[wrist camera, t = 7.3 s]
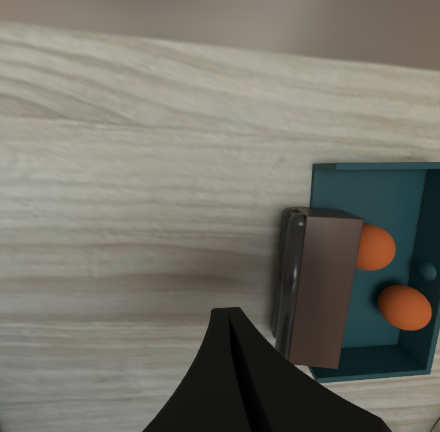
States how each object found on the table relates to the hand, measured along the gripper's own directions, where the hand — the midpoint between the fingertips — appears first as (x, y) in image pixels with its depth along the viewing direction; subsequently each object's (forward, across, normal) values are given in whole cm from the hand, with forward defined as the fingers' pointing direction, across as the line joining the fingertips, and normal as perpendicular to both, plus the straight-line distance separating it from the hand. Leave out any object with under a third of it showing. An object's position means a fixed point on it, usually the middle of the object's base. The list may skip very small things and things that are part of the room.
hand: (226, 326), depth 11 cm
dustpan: (+6, -14, 0) cm, 15 cm away
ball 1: (+4, -10, -2) cm, 11 cm away
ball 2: (+4, -13, +2) cm, 14 cm away
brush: (+5, -4, 0) cm, 6 cm away
